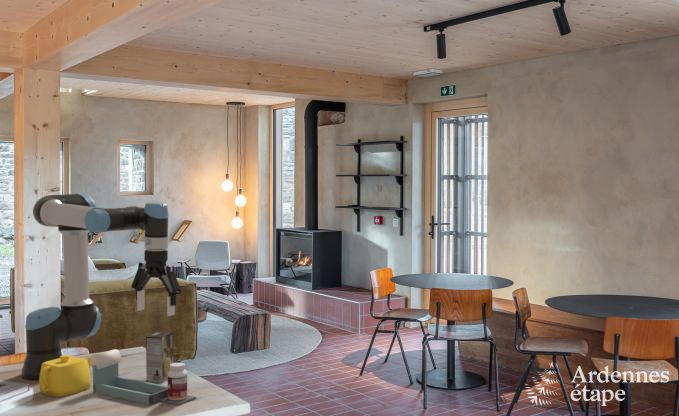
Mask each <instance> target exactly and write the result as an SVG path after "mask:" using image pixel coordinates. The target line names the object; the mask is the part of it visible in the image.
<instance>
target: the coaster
mask: <svg viewBox="0 0 679 416" xmlns="http://www.w3.org/2000/svg"><path fill="white" fill-rule="evenodd" d="M196 399H197V396H194V395H189V394H187V398H186V399H184V400H178V401H173V400H170V399H169V398H168V397H165V398H163V399H160V403H161V402H162V403H166V404H170V405H175V406H181V405H184V404H186V403H189V402H191V401H193V400H196Z"/></svg>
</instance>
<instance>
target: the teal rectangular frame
mask: <svg viewBox="0 0 679 416" xmlns="http://www.w3.org/2000/svg"><path fill="white" fill-rule="evenodd" d="M121 360H122V354H121V352H120V351H119V350H118V349H116V348H114V349H111V350H107V351H103V352H99V353H95V354H93V355H91V356H90V368H92V393H95V394H99V395H104V396H109V397H112V398H113V397H114V398H118V399H123V400H127V401H130V402H131V401H132V402H135V403H136V402H137V403H141V404H145V405H149V406H152V405H155V404H157V403H159V402H160V399H163V398H165V397H168V385H162V384H159V383H158V384H157V383H154V382H147V381H143V380H137V379H132V378H127V377H122V376H119V363H120V362H122V361H121ZM160 403H161V402H160Z"/></svg>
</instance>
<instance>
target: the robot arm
mask: <svg viewBox="0 0 679 416" xmlns="http://www.w3.org/2000/svg"><path fill="white" fill-rule="evenodd" d="M32 215H33V218H34V220H35V221H36V222H37V223H38V224H39V225H41V226H44V227H51V228H53V227H54V228H55V227H58V232H59V233H60V234H61V236H62V244H63V245H62V246H63V247H62V249H63V250H62V251H63V273H64V274H63V276H64V277H63V278H64V279H63V280H64V300H63V301H61V303H60V308H59V307H57V306H50V307H43V308H37V309H35V310H33V311H29V313H28V314H27V315H26V318H25V326H24V328H25V338H26V339H25V343H26V344H25V345H26V347H25V348H26V349H25V351H26V354H25V358H24V362H23V367H22V368H21V378H23V379H25V380H35V381H39V378H40V371H41V366H42V363H44V362H47V361H51V360H54V359H58V358H60V356H62V355H63V353H62V343H64V342H71V341H75V340H79V339H86V338H88V337H91V336H94V335H96V333H97V332H98V330H99V329H100V326H101V323H102V315H101V312H100V309H99V308H98V306H97V305H95V302H94V300H93V299H91V298H90V282H89V281H90V279H89V278H90V277H89V245H88V244H89V243H88V242H89V241H88V234H89V233H100V234H101V233H105V232H116V231H117V232H119V231H132V230H133V231H134V230H141V231H144V249H145V250H144V253H143V254H144V256H143V257H144V261H140V262H138V265H137V270H136V273H135V275H134V277H133V280H132V283H131V286H130V287H131V289H134V290H135V292H136V293H135V299H136V302H137V303H136V310H137V311H138V312H140V311H143V310H145V303H146V302H145V301H146V300H145V299H146V298H145V297H146V296H145V295H146V294H145V293H146V291H145V287H146V285H147V284H148V283H149V281H150V279H152V278H155V279H158V280H159V281H161V283H162V285H163V287H164V288H165V290H166V291H167V293H168V295H167V298H166V300H167V301H166V303H167V304H166V305H167V307H166V308H167V309H166V316H167V317H172V316H175V315H176V314H175V313H176V311H175V310H176V305H177V296H179V295H181V294H182V290H181V286H180V285H179V282H178V278H177V276H176V273H175V265H173V264H172V265H167V261H168V259H169V255H168V254H169V250H167V249H168V247H169V237H168V235H169V207H168V204H167V203H165V202H146V203H145V205H144V207H140V206H135V205H134V206H126V207H116V208H104V207H103V208H102V207H98V206H97V204H96V203H95V200H94V199H93V198H92V197H91V196H90V195H88V194H85V193H83V194H82V193H70V194H48V195H44V196H42V197H40V198H39V199H38V200H37V201H36V202H35V203H34V205H33V208H32Z"/></svg>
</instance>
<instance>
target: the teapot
mask: <svg viewBox="0 0 679 416" xmlns="http://www.w3.org/2000/svg"><path fill="white" fill-rule="evenodd" d="M90 358H91V356H90V357H85V358H82V357H76V356H71V355H68V354H62V356H60V358H58V359H54V360H51V361H47V362H44V363H42V366H41V371H40V378H39V380H38V382H39V383H38V386H39V387H38V388H39V391H40V393H41V394H44V395H47V396H51V397H56V398H62V397H66V396H70V395H75V394H78V393H81V392H83V391H86V390H89V389H90V387H91V384H92V379H91V371H90V368H91V365H90Z"/></svg>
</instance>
